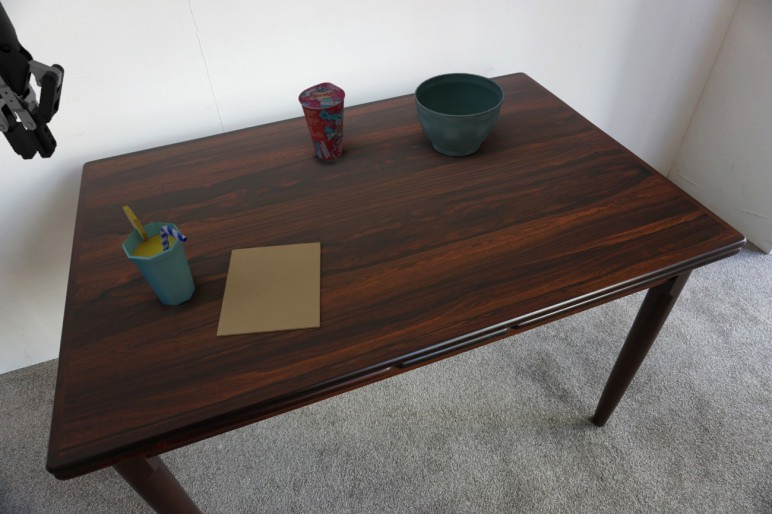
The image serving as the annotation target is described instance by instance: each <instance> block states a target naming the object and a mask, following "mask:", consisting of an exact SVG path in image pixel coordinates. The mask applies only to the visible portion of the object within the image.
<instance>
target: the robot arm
mask: <svg viewBox="0 0 772 514" xmlns="http://www.w3.org/2000/svg"><path fill="white" fill-rule="evenodd" d="M32 75H33V76H34V80H35V81H34V82H35V84H36V86H37V87H39V88H40V91H39V100H37V94H36V92H35V90H34V88H33V86H32V84H31V83H30V82H31V78H32ZM64 77H65V68H64V67H63V66H62V65H60V64H59V63H53V64H51V66H50V65H48V64H45V63H43V62H40V61H37V60H35V59H34V56H33V55H32V54H31V52H30V51H29V50H27V48H25V47H24V46H23V45H22V43H21V42H20V40H19V37H18V35H17V31H16V28H15V26H14V23H12V21H11V19H10V16H9V15H8V13H7V11H6V9H5V7H4V5H3V3H2V2H1V0H0V132H1V133H2V135H3V136H4V138H5V139H6V141H7V142H8V144H9V146H10V147H11V148H12V150H13V152H15V154H16V155H18V156H21V159H23V160H25V161H26V160H27V161H28V160H33V159H34V157H35V156H36V154H37V153H38V154H39V156H40V157H41V159H51V157H52V156H53V155H54V153H55V152H56V148H57V146H58V142H57V140H56V138H55V137H54V134H53V133H52V131H51V129H50V127H49V126H48V124H50V123H51V121H52V119H53V118H54V116H55V115H56V114H57V113H58V112H59V109H60V104H61V96H62V90H63V84H64ZM38 101H39V102H38ZM18 119H19V120H20V121H18Z"/></svg>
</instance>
